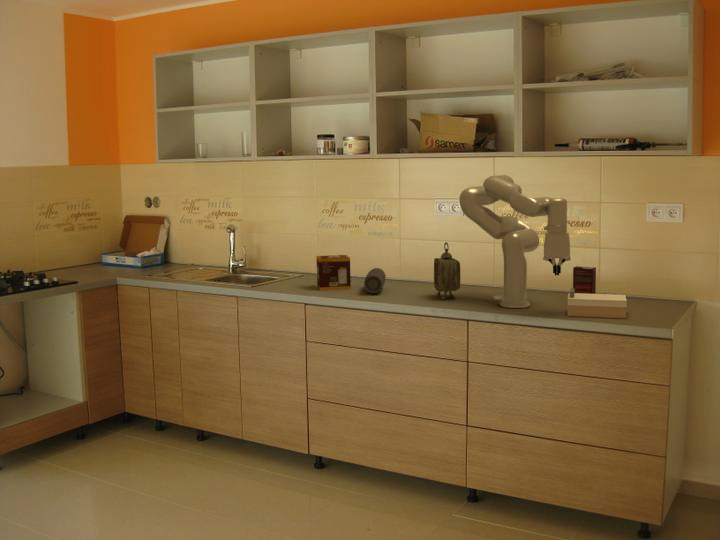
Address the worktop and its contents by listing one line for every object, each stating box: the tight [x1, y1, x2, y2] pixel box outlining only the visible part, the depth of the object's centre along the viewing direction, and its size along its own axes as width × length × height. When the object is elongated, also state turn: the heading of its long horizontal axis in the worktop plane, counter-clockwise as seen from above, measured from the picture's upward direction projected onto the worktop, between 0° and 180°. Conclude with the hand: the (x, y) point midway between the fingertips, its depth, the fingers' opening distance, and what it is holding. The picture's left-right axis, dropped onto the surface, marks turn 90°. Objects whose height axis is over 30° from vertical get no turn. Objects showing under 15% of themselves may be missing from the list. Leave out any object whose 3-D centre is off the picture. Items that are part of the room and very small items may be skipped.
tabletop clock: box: [433, 241, 461, 301], centre depth 354 cm, size 14×9×25 cm, turn 7°
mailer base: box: [566, 304, 627, 319], centre depth 316 cm, size 22×11×6 cm, turn 74°
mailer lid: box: [567, 287, 627, 308], centre depth 316 cm, size 22×13×5 cm, turn 74°
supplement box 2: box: [572, 265, 597, 294], centre depth 336 cm, size 9×5×16 cm, turn 56°
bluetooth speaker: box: [363, 267, 387, 294], centre depth 375 cm, size 23×9×10 cm, turn 174°
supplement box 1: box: [315, 254, 352, 292], centre depth 384 cm, size 10×15×16 cm
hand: (556, 274), depth 318 cm, fingers closed
